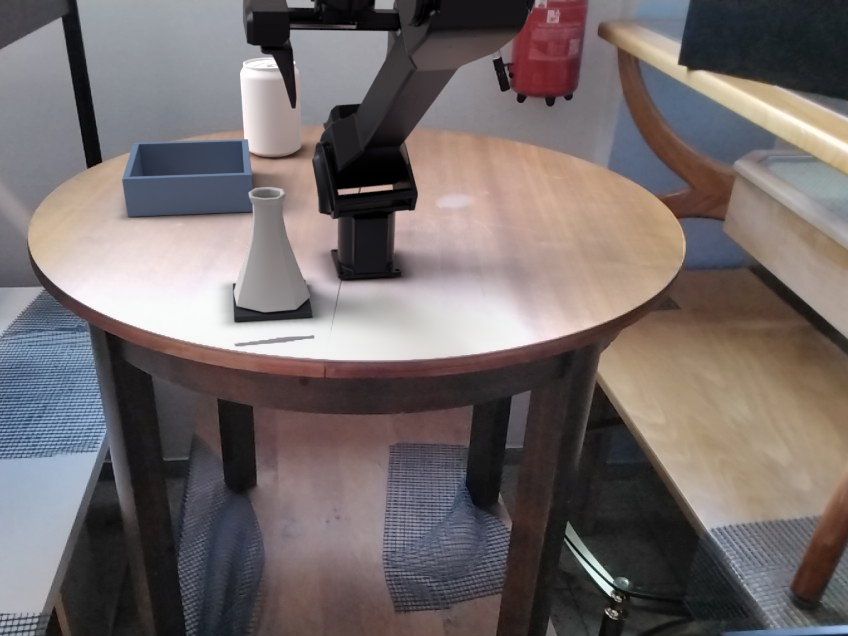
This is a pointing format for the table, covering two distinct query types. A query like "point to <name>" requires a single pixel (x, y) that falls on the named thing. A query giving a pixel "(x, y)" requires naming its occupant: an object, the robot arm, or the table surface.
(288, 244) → the flask
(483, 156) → the table surface
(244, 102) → the beverage can
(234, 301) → the coaster
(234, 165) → the tote
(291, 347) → the table surface
